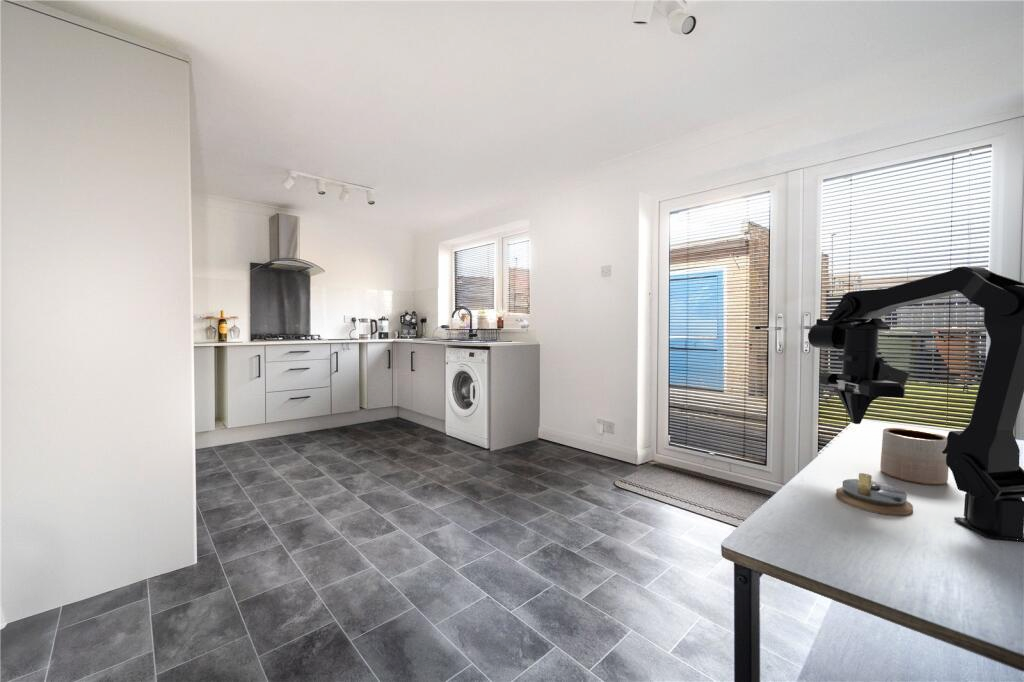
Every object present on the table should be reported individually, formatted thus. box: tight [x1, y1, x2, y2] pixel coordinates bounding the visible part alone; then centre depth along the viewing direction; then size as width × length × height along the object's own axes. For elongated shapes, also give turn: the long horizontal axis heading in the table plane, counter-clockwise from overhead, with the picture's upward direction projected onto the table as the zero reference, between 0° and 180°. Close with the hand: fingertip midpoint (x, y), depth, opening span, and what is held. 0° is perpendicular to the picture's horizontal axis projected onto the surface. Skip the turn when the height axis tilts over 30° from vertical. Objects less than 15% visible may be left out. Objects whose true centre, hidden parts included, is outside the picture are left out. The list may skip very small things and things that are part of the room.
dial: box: [842, 472, 908, 506], centre depth 81 cm, size 9×9×5 cm
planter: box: [880, 427, 950, 486], centre depth 94 cm, size 11×11×10 cm
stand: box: [835, 487, 914, 517], centre depth 81 cm, size 11×11×2 cm
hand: (856, 423), depth 92 cm, fingers closed
